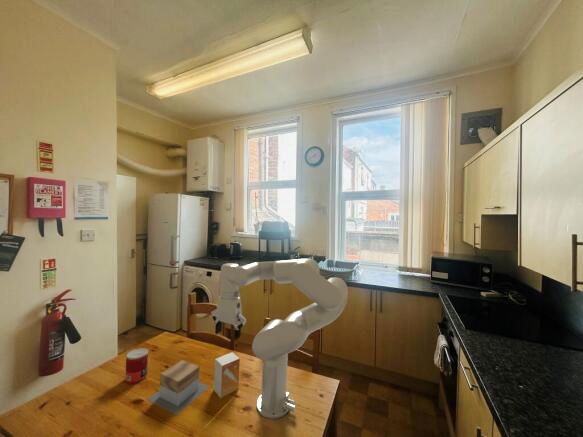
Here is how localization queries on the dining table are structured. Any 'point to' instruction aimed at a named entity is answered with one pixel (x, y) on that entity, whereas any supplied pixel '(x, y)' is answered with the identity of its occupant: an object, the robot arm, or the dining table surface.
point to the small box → (226, 374)
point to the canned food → (136, 365)
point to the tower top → (179, 376)
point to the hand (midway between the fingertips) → (227, 335)
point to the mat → (177, 409)
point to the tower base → (180, 397)
